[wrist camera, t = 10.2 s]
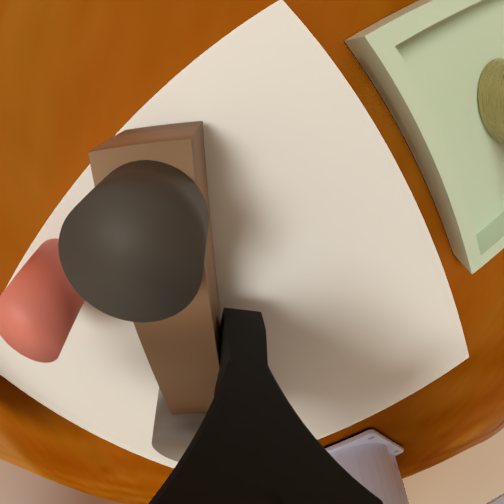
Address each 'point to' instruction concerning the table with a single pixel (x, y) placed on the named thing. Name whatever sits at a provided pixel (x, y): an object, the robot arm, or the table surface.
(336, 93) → the board
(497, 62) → the pin
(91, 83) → the table surface
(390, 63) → the tray
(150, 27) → the table surface
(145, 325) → the crank
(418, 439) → the table surface
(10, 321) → the post
